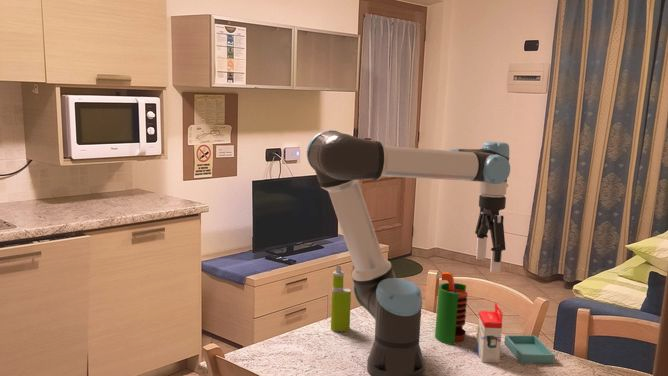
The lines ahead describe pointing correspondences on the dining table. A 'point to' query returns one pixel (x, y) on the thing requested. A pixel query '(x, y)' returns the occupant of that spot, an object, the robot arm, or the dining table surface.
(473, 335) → the label card
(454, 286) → the motor
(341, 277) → the vape
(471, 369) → the dining table surface
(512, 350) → the tray
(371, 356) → the robot arm
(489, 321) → the ink box
